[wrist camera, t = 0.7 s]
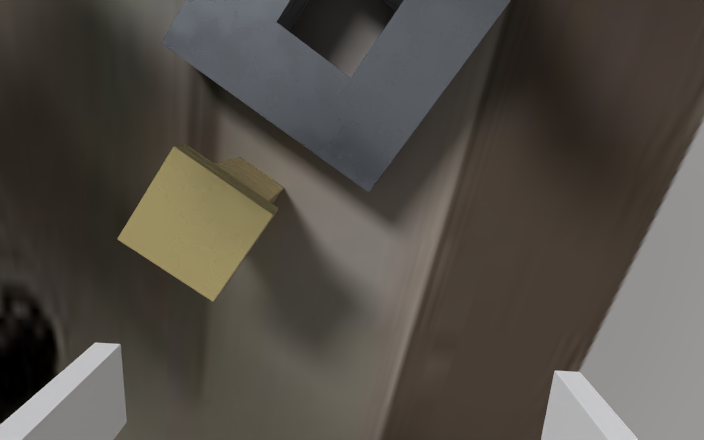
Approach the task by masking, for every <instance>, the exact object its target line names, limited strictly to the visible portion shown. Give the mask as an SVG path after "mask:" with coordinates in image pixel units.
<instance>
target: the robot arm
mask: <svg viewBox="0 0 704 440" xmlns="http://www.w3.org/2000/svg"><path fill="white" fill-rule="evenodd" d="M126 423H127V419H126V406H125V393H124V380H123V367H122V355H121V344H111V343H94V344H93V345H92V346H91V347H90V348H88V349H87V350H86V351H85V352H84V353H83V354H81V355H80V356H79V357H78V358H77V359H76V360H75V361H73V362H72V363H71V364H70V365H69V366H68V367H66V368H65V369H64V370H63V371H62V372H61V373H60V374H58V375H57V376H56V377H55V378H54V379H53V380H51V381H50V382H49V383H48V384H47V385H46V386H45V387H43V388H42V389H41V390H40V391H39V392H38V393H36V394H35V395H34V396H33V397H32V398H31V399H30V400H28V401H27V402H26V403H25V404H24V405H23V406H21V407H20V408H19V409H18V410H17V411H16V412H15V413H13V414H12V415H11V416H10V417H9V418H8V419H6V420H5V421H4V422H3V423H2V424H1V425H0V440H114V439H115V437H116V436H117V435H118V433H119V432H120V431H121V429H122V428H123V427H124V425H125V424H126ZM541 440H638V439H637V438H636V437H635V435H634V434H633V433H632V432H631V431H630V430H629V428H628V427H627V426H626V425H625V424H624V423H623V421H622V420H621V419H620V418H619V417H618V416H617V414H616V413H615V412H614V411H613V410H612V409H611V408H610V406H609V405H608V404H607V403H606V402H605V401H604V399H603V398H602V397H601V396H600V395H599V394H598V393H597V391H596V390H595V389H594V388H593V387H592V386H591V384H590V383H589V382H588V381H587V380H586V379H585V378H584V376H583V375H582V374H581V373H580V372H568V371H554V377H553V382H552V387H551V392H550V397H549V402H548V407H547V412H546V417H545V422H544V427H543V432H542V437H541Z"/></svg>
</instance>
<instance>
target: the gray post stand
mask: <svg viewBox="0 0 704 440" xmlns="http://www.w3.org/2000/svg"><path fill="white" fill-rule="evenodd" d="M309 1H310V0H186V1H185V2H184V4H183V6H182V8H181V9H180V11H179V13H178V15H177V16H176V18H175V20H174V22H173V23H172V25H171V27H170V29H169V31H168V32H167V34H166V36H165V38H164V39H163V41H162V43H161V44H163V45H164V46H166V47H167V48H168V49H170V50H171V51H173V52H174V53H175V54H177V55H178V56H180V57H181V58H182V59H184V60H185V61H186V62H188V63H189V64H191V65H192V66H193V67H195V68H196V69H198V70H199V71H200V72H202V73H203V74H205V75H206V76H207V77H209V78H210V79H211V80H213V81H214V82H216V83H217V84H218V85H220V86H221V87H223V88H224V89H225V90H227V91H228V92H230V93H231V94H232V95H234V96H235V97H236V98H238V99H239V100H241V101H242V102H243V103H245V104H246V105H248V106H249V107H250V108H252V109H253V110H255V111H256V112H257V113H259V114H260V115H261V116H263V117H264V118H266V119H267V120H268V121H270V122H271V123H273V124H274V125H275V126H277V127H278V128H279V129H281V130H282V131H284V132H285V133H286V134H288V135H289V136H291V137H292V138H293V139H295V140H296V141H298V142H299V143H300V144H302V145H303V146H304V147H306V148H307V149H309V150H310V151H311V152H313V153H314V154H316V155H317V156H318V157H320V158H321V159H323V160H324V161H325V162H327V163H328V164H329V165H331V166H332V167H334V168H335V169H336V170H338V171H339V172H341V173H342V174H343V175H345V176H346V177H348V178H349V179H350V180H352V181H353V182H354V183H356V184H357V185H359V186H360V187H361V188H363V189H364V190H366V191H367V192H368V193H369V191H370V190H371V189H372V187H373V186H374V185H375V183H376V182H377V180H378V179H379V178H380V176H381V175H382V174H383V172H384V171H385V170H386V168H387V167H388V166H389V164H390V163H391V162H392V160H393V159H394V158H395V156H396V155H397V153H398V152H399V151H400V149H401V148H402V147H403V145H404V144H405V143H406V141H407V140H408V139H409V137H410V136H411V135H412V133H413V132H414V130H415V129H416V128H417V126H418V125H419V124H420V122H421V121H422V120H423V118H424V117H425V116H426V114H427V113H428V112H429V110H430V109H431V108H432V106H433V105H434V103H435V102H436V101H437V99H438V98H439V97H440V95H441V94H442V93H443V91H444V90H445V89H446V87H447V86H448V85H449V83H450V82H451V80H452V79H453V78H454V76H455V75H456V74H457V72H458V71H459V70H460V68H461V67H462V66H463V64H464V63H465V62H466V60H467V59H468V58H469V56H470V55H471V53H472V52H473V51H474V49H475V48H476V47H477V45H478V44H479V43H480V41H481V40H482V39H483V37H484V36H485V35H486V33H487V32H488V30H489V29H490V28H491V26H492V25H493V24H494V22H495V21H496V20H497V18H498V17H499V16H500V14H501V13H502V12H503V10H504V9H505V8H506V6H507V5H508V3H509V2H510V1H511V0H382V1H383V2H384V3H386V4H387V5H388V6H389V7H391V8H392V9H393V10H394V11H396V12H395V14H394V15H393V17H392V18H391V20H390V21H389V23H388V24H387V26H386V27H385V28H384V30H383V31H382V33H381V34H380V36H379V37H378V39H377V40H376V42H375V43H374V45H373V46H372V48H371V49H370V50H369V52H368V53H367V55H366V56H365V58H364V59H363V61H362V62H361V64H360V65H359V67H358V68H357V69H356V71H355V72H354V74H353V75H352V77H351V78H350V77H349V76H347V75H346V74H345V73H343V72H342V71H341V70H339V69H338V68H337V67H335V66H334V65H333V64H331V63H330V62H329V61H327V60H326V59H325V58H323V57H322V56H321V55H319V54H318V53H317V52H315V51H314V50H313V49H311V48H310V47H309V46H307V45H306V44H305V43H303V42H302V41H301V40H300V39H298V38H297V37H296V36H294V35H293V34H292V33H290V31H291V29H292V28H293V26H294V24H295V23H296V21H297V20H298V18H299V17H300V15H301V13H302V12H303V10H304V9H305V7H306V5H307V4H308V2H309Z"/></svg>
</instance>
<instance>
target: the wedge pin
mask: <svg viewBox="0 0 704 440" xmlns="http://www.w3.org/2000/svg"><path fill="white" fill-rule="evenodd" d="M283 189H284V187H282V186H281V185H279V184H278V183H277V182H275V181H274V180H272V179H271V178H269V177H268V176H267V175H265V174H264V173H262V172H261V171H259V170H258V169H257V168H255V167H254V166H252V165H251V164H249V163H248V162H247V161H245V160H244V159H242V158H241V157H238V158H234V159H231V160H227V161H224V162H220V163H217V164H214V163H213V162H211V161H210V160H208V159H207V158H205V157H204V156H202V155H201V154H200V153H198V152H197V151H195V150H194V149H192V148H191V147H189V146H188V145H180V146H174V147H173V148H172V150H171V152H170V153H169V155H168V157H167V158H166V160H165V161H164V163H163V165H162V166H161V168H160V170H159V171H158V173H157V175H156V176H155V178H154V180H153V181H152V183H151V184H150V186H149V188H148V189H147V191H146V193H145V194H144V196H143V198H142V199H141V201H140V203H139V204H138V206H137V207H136V209H135V211H134V212H133V214H132V216H131V217H130V219H129V221H128V222H127V224H126V226H125V227H124V229H123V230H122V232H121V234H120V235H119V237H118V240H119V241H121V242H122V243H124V244H125V245H127V246H128V247H130V248H131V249H133V250H134V251H136V252H138V253H139V254H141V255H142V256H144V257H145V258H147V259H148V260H150V261H151V262H153V263H154V264H156V265H157V266H159V267H161V268H162V269H164V270H165V271H167V272H168V273H170V274H171V275H173V276H174V277H176V278H177V279H179V280H180V281H182V282H184V283H185V284H187V285H188V286H190V287H191V288H193V289H194V290H196V291H197V292H199V293H200V294H202V295H203V296H205V297H207V298H208V299H210V300H211V301H214V300H215V299H216V298H217V296H218V295H219V294H220V293H221V292H222V290H223V289H224V288H225V286H226V285H227V283H228V282H229V280H230V279H231V277H232V276H233V275H234V273H235V272H236V270H237V269H238V267H239V266H240V264H241V263H242V262H243V260H244V259H245V257H246V256H247V254H248V253H249V252H250V250H251V249H252V247H253V246H254V244H255V243H256V241H257V240H258V239H259V237H260V236H261V234H262V233H263V231H264V230H265V228H266V227H267V226H268V224H269V223H270V221H271V220H272V218H273V217H274V216H275V214H276V213H277V211H278V210H279V208H277V207H276V206H274V205H273V203H274V202H275V200H276V199H277V197H278V196H279V194H280V193H281V191H282V190H283Z"/></svg>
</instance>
